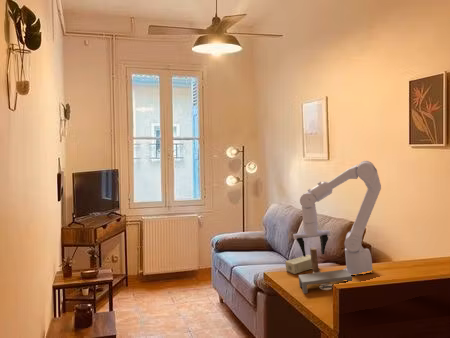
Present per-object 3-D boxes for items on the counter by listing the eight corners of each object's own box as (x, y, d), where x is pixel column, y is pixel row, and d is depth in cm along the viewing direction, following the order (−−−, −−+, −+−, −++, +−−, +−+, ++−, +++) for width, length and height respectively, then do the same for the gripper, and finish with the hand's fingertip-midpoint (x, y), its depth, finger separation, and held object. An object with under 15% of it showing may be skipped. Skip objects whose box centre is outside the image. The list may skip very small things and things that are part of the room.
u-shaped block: (346, 279, 164) (345, 269, 163) (353, 287, 156) (352, 276, 155) (299, 285, 164) (298, 275, 163) (303, 293, 156) (302, 282, 155)
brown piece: (322, 270, 178) (319, 246, 177) (329, 280, 165) (327, 255, 164) (307, 272, 178) (305, 248, 177) (314, 282, 165) (311, 257, 164)
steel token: (331, 285, 161) (331, 282, 161) (335, 290, 156) (334, 287, 156) (318, 287, 161) (317, 284, 161) (321, 291, 156) (321, 289, 156)
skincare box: (294, 274, 177) (318, 267, 182) (293, 264, 176) (317, 257, 182) (285, 270, 182) (309, 264, 188) (284, 260, 182) (308, 254, 187)
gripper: (325, 217, 178) (328, 249, 180) (290, 221, 178) (294, 254, 180) (330, 221, 171) (333, 254, 173) (293, 225, 171) (297, 258, 173)
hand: (313, 254), depth 176 cm, fingers open, 7 cm apart
